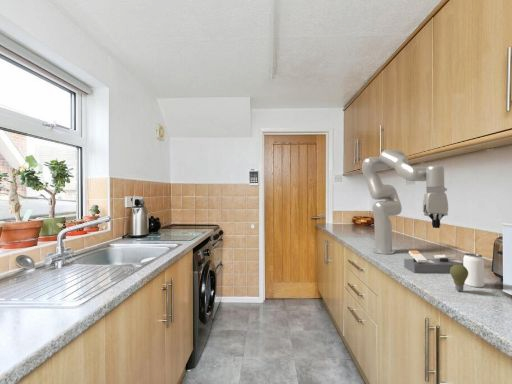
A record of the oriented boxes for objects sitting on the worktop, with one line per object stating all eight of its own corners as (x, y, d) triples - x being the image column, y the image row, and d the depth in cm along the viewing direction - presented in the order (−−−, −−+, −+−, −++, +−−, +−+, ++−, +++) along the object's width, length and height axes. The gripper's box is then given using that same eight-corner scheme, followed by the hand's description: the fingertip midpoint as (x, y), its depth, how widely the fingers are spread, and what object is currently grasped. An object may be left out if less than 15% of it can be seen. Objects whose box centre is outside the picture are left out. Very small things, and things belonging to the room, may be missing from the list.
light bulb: (446, 288, 106) (446, 262, 106) (460, 288, 107) (459, 262, 107) (458, 294, 101) (457, 266, 101) (472, 293, 101) (472, 266, 101)
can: (461, 284, 111) (461, 254, 111) (466, 281, 115) (465, 252, 115) (482, 289, 106) (481, 257, 106) (486, 285, 110) (485, 254, 110)
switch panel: (404, 267, 137) (404, 256, 137) (454, 267, 136) (454, 255, 136) (414, 273, 127) (414, 261, 127) (469, 273, 126) (469, 261, 126)
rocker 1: (408, 253, 137) (409, 250, 136) (417, 253, 136) (417, 250, 136) (417, 262, 128) (418, 259, 127) (426, 262, 128) (427, 259, 127)
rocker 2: (434, 257, 135) (434, 255, 136) (443, 257, 135) (442, 255, 136) (445, 257, 127) (444, 254, 127) (454, 257, 126) (453, 254, 127)
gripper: (446, 190, 140) (447, 226, 140) (415, 191, 141) (416, 226, 141) (456, 190, 133) (456, 228, 133) (423, 190, 134) (424, 228, 134)
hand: (436, 227), depth 137 cm, fingers closed
